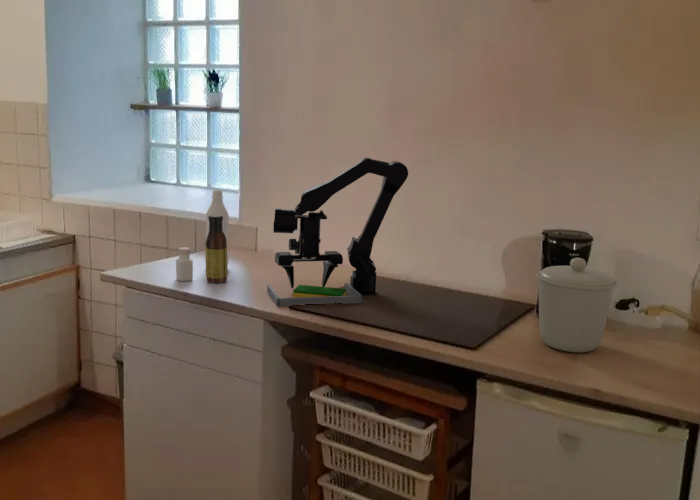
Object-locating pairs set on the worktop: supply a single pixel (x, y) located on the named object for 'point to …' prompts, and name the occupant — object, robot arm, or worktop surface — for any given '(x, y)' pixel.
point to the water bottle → (219, 209)
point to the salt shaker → (184, 265)
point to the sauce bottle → (216, 251)
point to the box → (317, 298)
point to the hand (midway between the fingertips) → (307, 287)
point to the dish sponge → (317, 291)
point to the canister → (574, 305)
